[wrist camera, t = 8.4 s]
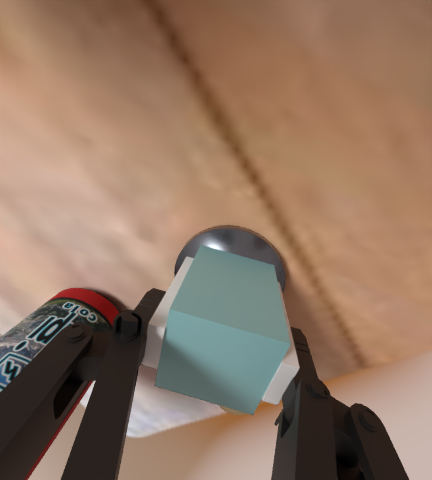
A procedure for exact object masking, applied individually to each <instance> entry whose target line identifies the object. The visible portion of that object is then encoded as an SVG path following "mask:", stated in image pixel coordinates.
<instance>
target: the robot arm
mask: <svg viewBox="0 0 432 480" xmlns="http://www.w3.org/2000/svg"><path fill="white" fill-rule="evenodd" d="M193 259H194V258H191V257H186V258H185V260H184V262H183V264H182V265H181V267H180V269H179V271H178V272H177V274H176V276H175V278H174V279H173V281H172V283H171V285H170V286H169V288H168V290H167V292H165V291H162V290H158V289H155V288H153V289H151V290H150V291H148V292H147V293H146V294H145V295H144V297H143V298H142V300H141V301H140V302H139V305H137V307H136V308H135V310H127V311H124V312H121V313H119V314H118V315H116V317H115V318H114V320H113V331H108V332H93V329H92V328H91V326H89V325H87V324H85V323H76V324H71V325H69V326H66V327H65V328H63V329H62V330H61V331H60V332H59V333H58V334H57V335H56V336H55V337H54V338H53V339H52V340H51V341H50V342H49V343H48V344H47V345H46V346H45V347H44V348H43V349H42V350H41V351H40V352H39V353H38V354H37V355H36V356H35V357H34V358H33V359H32V360H31V361H30V362H29V363H28V364H27V365H26V366H25V367H24V368H23V369H22V370H21V372H20V373H19V374H18V375H17V376H16V377H15V378H14V379H13V380H12V381H11V382H10V383H9V384H8V385H7V386H6V387H5V388H4V389H3V390H2V391H1V392H0V480H24V479H25V478H26V476H27V475H28V473H29V472H30V470H31V468H32V467H33V465H34V464H35V462H36V461H37V459H38V458H39V456H40V455H41V453H42V452H43V450H44V449H45V447H46V445H47V444H48V442H49V441H50V439H51V438H52V436H53V435H54V433H55V432H56V430H57V429H58V427H59V425H60V424H61V422H62V421H63V419H64V418H65V416H66V415H67V413H68V412H69V410H70V409H71V407H72V406H73V404H74V402H75V401H76V399H77V398H78V396H79V395H80V393H81V392H82V390H83V389H84V387H85V386H86V384H87V382H88V381H95V380H96V382H95V384H94V387H93V390H92V393H91V396H90V399H89V401H88V404H87V407H86V410H85V413H84V416H83V419H82V421H81V424H80V427H79V430H78V433H77V436H76V438H75V441H74V444H73V447H72V450H71V452H70V455H69V458H68V461H67V464H66V467H65V469H64V472H63V475H62V478H61V480H118V474H119V469H120V464H121V459H122V454H123V448H124V443H125V438H126V433H127V427H128V422H129V417H130V412H131V407H132V401H133V396H134V391H135V386H136V380H137V375H138V369H139V366H140V364H141V362H142V360H143V362H142V365H144V366H148V367H151V368H154V369H157V368H158V365H159V360H160V355H161V350H162V345H163V339H164V334H165V329H166V324H167V319H168V314H169V309H170V307H171V305H172V303H173V301H174V299H175V297H176V295H177V292H178V290H179V288H180V286H181V284H182V282H183V280H184V278H185V276H186V274H187V272H188V270H189V268H190V266H191V264H192V261H193ZM278 286H279V291H280V295H281V300H282V305H283V310H284V314H285V319H286V324H287V328H288V333H289V338H290V343H291V345H290V347H289V348H288V350H287V352H286V354H285V356H284V358H283V360H282V361H281V363H280V365H279V367H278V369H277V371H276V373H275V375H274V376H273V378H272V380H271V382H270V384H269V386H268V388H267V389H266V391H265V393H264V395H263V397H262V401H265V402H268V403H272V404H275V405H278V404H279V402H280V400H281V399H282V402H283V409H282V411H281V413H280V414H279V416H278V418H277V419H276V421H275V425H276V426H277V424H278V423H279V426H278V434H277V441H276V449H275V456H274V464H273V471H272V478H271V480H409V478H408V476H407V474H406V472H405V470H404V467H403V465H402V463H401V461H400V459H399V457H398V455H397V453H396V450H395V448H394V447H393V444H392V442H391V440H390V437H389V435H388V433H387V431H386V429H385V427H384V425H383V423H382V422H381V420H380V419H379V418H378V416H377V415H376V414H375V413H374V412H373V411H372V410H370V409H369V408H368V407H366V406H364V405H362V404H357V403H355V404H354V405H352V406H351V407H348V406H346V405H345V404H343V403H341V402H339V401H338V400H336V399H335V398H333V397H332V396H331V395H330V392H329V390H328V388H327V387H326V386H325V384H324V383H323V382H322V381H321V380H319V379H318V376H317V373H316V370H315V367H314V363H313V360H312V357H311V354H310V350H309V347H308V343H307V340H306V337H305V336H304V334H303V333H302V332H301V330H300V329H296V328H293V327H290V324H289V320H288V316H287V311H286V307H285V303H284V299H283V294H282V290H281V286H280V282H278Z"/></svg>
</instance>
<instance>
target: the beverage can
mask: <svg viewBox="0 0 432 480" xmlns="http://www.w3.org/2000/svg"><path fill="white" fill-rule="evenodd" d="M118 314H119V312H118V310H117V309H116V308H115V307H114V305H113V304H112V303H111V302H109V301H108V300H107V299H106V298H104V297H103V296H101V295H99V294H97V293H95V292H93V291H90V290H87V289H82V288H70V289H66V290H63V291H61V292H60V293H58V294H57V295H56V296H54V297H53V298H52V299H50V300H49V301H48V302H46V303H45V304H44V305H42V306H41V307H40V308H38V309H37V310H36V311H34V312H33V313H32V314H30V315H29V316H28V317H27V318H25V319H24V320H23V321H21V322H20V323H19V324H17V325H16V326H15V327H14V328H12V329H11V330H10V331H8V332H7V333H6V334H4V335H3V336H2V337H1V338H0V392H1V391H2V390H3V389H4V388H5V387H6V386H7V385H8V384H9V383H10V382H11V381H12V380H13V379H14V378H15V377H16V376H17V375H18V374H19V373H20V372H21V370H22V369H23V368H24V367H25V366H26V365H27V364H28V363H29V362H30V361H31V360H32V359H33V358H34V357H35V356H36V355H37V354H38V353H39V352H40V351H41V350H42V349H43V348H44V347H45V346H46V345H47V344H48V343H49V342H50V341H51V340H52V339H53V338H54V337H55V336H56V335H57V334H58V333H59V332H60V331H61V330H62V329H63V328H65V327H66V326H69V325H71V324H76V323H85V324H87V325H89V326H91V328H92V329H93V332H108V331H113V320H114V318H115V317H116V315H118ZM92 382H93V381H88V382H87V384H86V386H85V387H84V389H83V390H82V392H81V393H80V395H79V396H78V398H77V399H76V401H75V402H74V404H73V406H72V407H71V409H70V410H69V412H68V413H67V415H66V416H65V418H64V419H63V421H62V422H61V424H60V425H59V427H58V429H57V430H56V432H55V433H54V435H53V436H52V438H51V439H50V441H49V442H48V444H47V445H46V447H45V449H44V450H43V452H42V453H41V455H40V456H39V458H38V459H37V461H36V462H35V464H34V465H33V467H32V468H31V470H30V472H29V473H28V475H27V476H26V478H25V479H24V480H28V478H29V477H30V475H31V474H32V472H33V471H34V469H35V468H36V466H37V465H38V464H39V462H40V461H41V459H42V458H43V456H44V455H45V453H46V452H47V450H48V449H49V447H50V446H51V444H52V443H53V441H54V440H55V438H56V437H57V435H58V433H59V432H60V430H61V429H62V428H63V426H64V425H65V423H66V422H67V420H68V419H69V417H70V416H71V414H72V413H73V411H74V409H75V408H76V406H77V405H78V404H79V402H80V401H81V399H82V397H83V396H84V394H85V393H86V391H87V390H88V388H89V387H90V385H91V384H92Z"/></svg>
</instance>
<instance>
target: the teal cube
mask: <svg viewBox="0 0 432 480" xmlns="http://www.w3.org/2000/svg"><path fill="white" fill-rule="evenodd" d="M290 345H291V343H290V338H289V333H288V328H287V324H286V319H285V314H284V310H283V305H282V300H281V295H280V291H279V286H278V281H277V277H276V272H275V267H274V265H272V264H268V263H265V262H261V261H257V260H254V259H250V258H247V257H243V256H239V255H236V254H232V253H229V252H225V251H222V250H218V249H214V248H211V247H207V246H204V245H200V247H199V249H198V251H197V253H196V255H195V257H194V259H193V261H192V264H191V266H190V268H189V270H188V272H187V274H186V276H185V278H184V280H183V282H182V284H181V286H180V288H179V290H178V292H177V295H176V297H175V299H174V301H173V303H172V305H171V307H170V309H169V314H168V319H167V324H166V329H165V334H164V339H163V345H162V350H161V355H160V360H159V365H158V370H157V375H156V380H155V386H157V387H160V388H164V389H167V390H170V391H174V392H177V393H180V394H184V395H187V396H190V397H194V398H197V399H200V400H204V401H207V402H210V403H214V404H217V405H220V406H224V407H227V408H231V409H234V410H237V411H241V412H244V413H247V414H251V415H253V414H254V412H255V410H256V408H257V406H258V404H259V402H260V401H261V399H262V397H263V395H264V393H265V391H266V389H267V388H268V386H269V384H270V382H271V380H272V378H273V376H274V375H275V373H276V371H277V369H278V367H279V365H280V363H281V361H282V360H283V358H284V356H285V354H286V352H287V350H288V348H289V347H290Z"/></svg>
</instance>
